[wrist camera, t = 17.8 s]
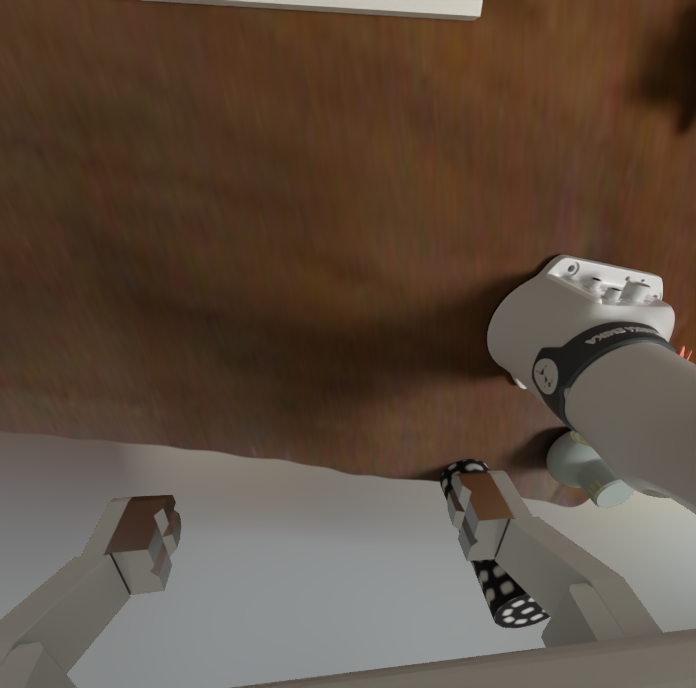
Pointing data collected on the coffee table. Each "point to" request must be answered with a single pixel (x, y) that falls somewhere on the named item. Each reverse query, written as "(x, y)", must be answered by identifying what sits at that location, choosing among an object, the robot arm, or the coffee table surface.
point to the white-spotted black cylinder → (497, 572)
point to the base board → (364, 7)
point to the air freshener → (586, 471)
